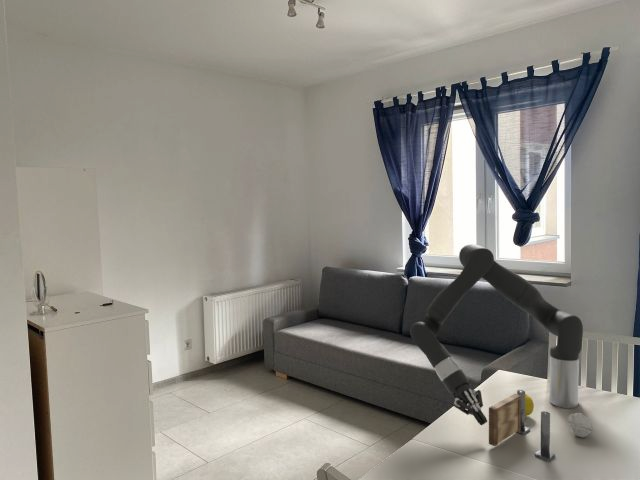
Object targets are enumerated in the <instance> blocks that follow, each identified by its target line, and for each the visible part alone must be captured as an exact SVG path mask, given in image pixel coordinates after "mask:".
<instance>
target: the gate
mask: <svg viewBox="0 0 640 480" xmlns="http://www.w3.org/2000/svg"><path fill="white" fill-rule="evenodd" d="M520 430H521V395H518V394H517V393H513V394H511V395H509V396H507V397H506V398H504V399H502V400H499V402H496V403H494V404H492V405H491V406H489V407H488V444H489V445H490V446H493V447H496V446H498V445H499V444H500V443H501V442H502V441H505V440H506V439H507V438H509V437H511V436H512V435H514V434H515V433H518V432H517V431H520Z"/></svg>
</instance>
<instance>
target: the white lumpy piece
mask: <svg viewBox="0 0 640 480" xmlns="http://www.w3.org/2000/svg"><path fill="white" fill-rule="evenodd" d="M568 424H569V427H570V428H571V431H572V432H573V434H574V435H575V436H576V437H579V438H586V437H588V436H589V435H590V433H591V432H592V428H593V426H592V424H591V422H590V420H589V419H588V418H587V417H586V416H584V414H583V413H581V412H574V413H571V414H569V416H568Z"/></svg>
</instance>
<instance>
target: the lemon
mask: <svg viewBox="0 0 640 480" xmlns="http://www.w3.org/2000/svg"><path fill="white" fill-rule="evenodd" d="M534 407H535V406H534V401H533V399H532V397H531V396H529V395H528V394H526V393H525V418H526V417H528V416H529V415H531V414H532V413H533V412H534Z"/></svg>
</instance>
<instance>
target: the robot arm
mask: <svg viewBox="0 0 640 480" xmlns="http://www.w3.org/2000/svg"><path fill="white" fill-rule="evenodd" d="M458 259H459V262H460V264H461V266H462V267H463V268H462V270H461V272H460V273H459V274H458V275H457V277H455V279H454V280H453V281H452V282H450V283H449V284H448V285H447V286H446V287H444V288H443V289H442V290H441V291H440V292H439V293H438V294H437V295H436V296H435V297H434V298H433V300H432V302H431V303H430V304H429V306H428V308H426V315H425V316H424V318H423V319H422V321H416V322H414V323H413V324H412V325H411V327H410V330H409V333H410V337H411V339H412V341H413V342H414V343H415V345H416V346H417V347H418V348H419V349H420V351H422V353H423V354H424V355H425V357H426V358H427V360H428V362H429V363H430V364H431V366H432V368H433V370H435V372H436V374H437V376H438V379H439V380H440V381H441V383H442V384H443V385H444V387H445V388H446V390H447V391H448V393H449V394H452V395H453V399H454V402H453V403H452V406H453V407H454V408H456V409H458V410H459V411H460V412H462V413H463V414H465V415H467V416H469V415H471V416H473V417H474V419H475V421H476V422H477V423H478V424H479V426H483V425H485V424H487V422H488V419H487V417H486V415H485V414H484V412H483V411H482V408H483V407H484V402H483V396H482V391H481V390H480V389H478V390H475V389H474V388H473V387H472V386H471V385H470V384H469V381H470V380H469V378H468V377H467V376H466V374H465V372H464V371H463V369H462V368H461V367H460V365H459V364H458V363H457V361H456V359H454V358H453V357H452V355H451V354H450V353H449V350H447V348H446V347H445V346H444V345H443V344H442V343H441V342H440V341H439V340H438V338H437V335H438V333H439V332H440V331H441V328H442V327H443V324H444V322H445V320H447V319H448V318H449V316H450V314H451V313H452V312H453V311H454V309H455V307H456V306H458V303H459V302H460V301H461V300H462V299H463V298H464V297H465V295H467V293H468V292H469V291H470V290H471V289H472V288H473V287H474V286H475V285H476V284H477V283H478V282H479V280H481V279H483V280H485V281H486V282H488V284H490V286H491V287H493V288H494V289H495V290H496V291H497V292H498V293H499V294H500V295H501V296H503V297H504V298H505V299H506V300H508V302H511V303H512V304H513V305H514V306H516V307H517V308H519V309H520V310H522V311H523V312H525V313H526V314H528V315H530V316H532V317H533V318H534V319H535V320H536V321H538V322H539V323H540V324H541V325H542V326H543V327H544V328H545V329H546V330H547V331H548V332H549V333H551V334H552V335H554V336H556V337H557V344H556V345H553V346H551V347H550V350H549V396H548V397H549V402H550V404H551V405H554V406H556V407H559V408H564V409H574V408H577V407H578V406H579V375H580V374H579V370H580V369H579V367H580V362H579V361H580V353H581V351H582V347H583V337H584V327H583V322H582V320H581V318H580V317H578V316H577V315H575V314H572V313H569V312H566V311H564V310H561V309H559V308H557V307H556V306H554V305H552V304H551V303H549V302H548V301H546V300H545V298H544V297H543V296H542V294H541V293H540V291H539V290H538V289H537V288H536V286H534V285H533V284H532V283H530V282H529V281H528V280H527V279H525V278H523V277H522V276H521V275H519V274H518V273H516V272H514V271H512V270H511V269H508V267H505V266H503V265H501V264H499V263H498V262H497V261H496V260H495V257H494V254H493V252H492V251H491V250H490V249H489V248H487V247H484V246H483V245H479V244H473V243H472V244H467V245H464V246H463V247H462V248H461V249H460V251H459V255H458Z"/></svg>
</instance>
